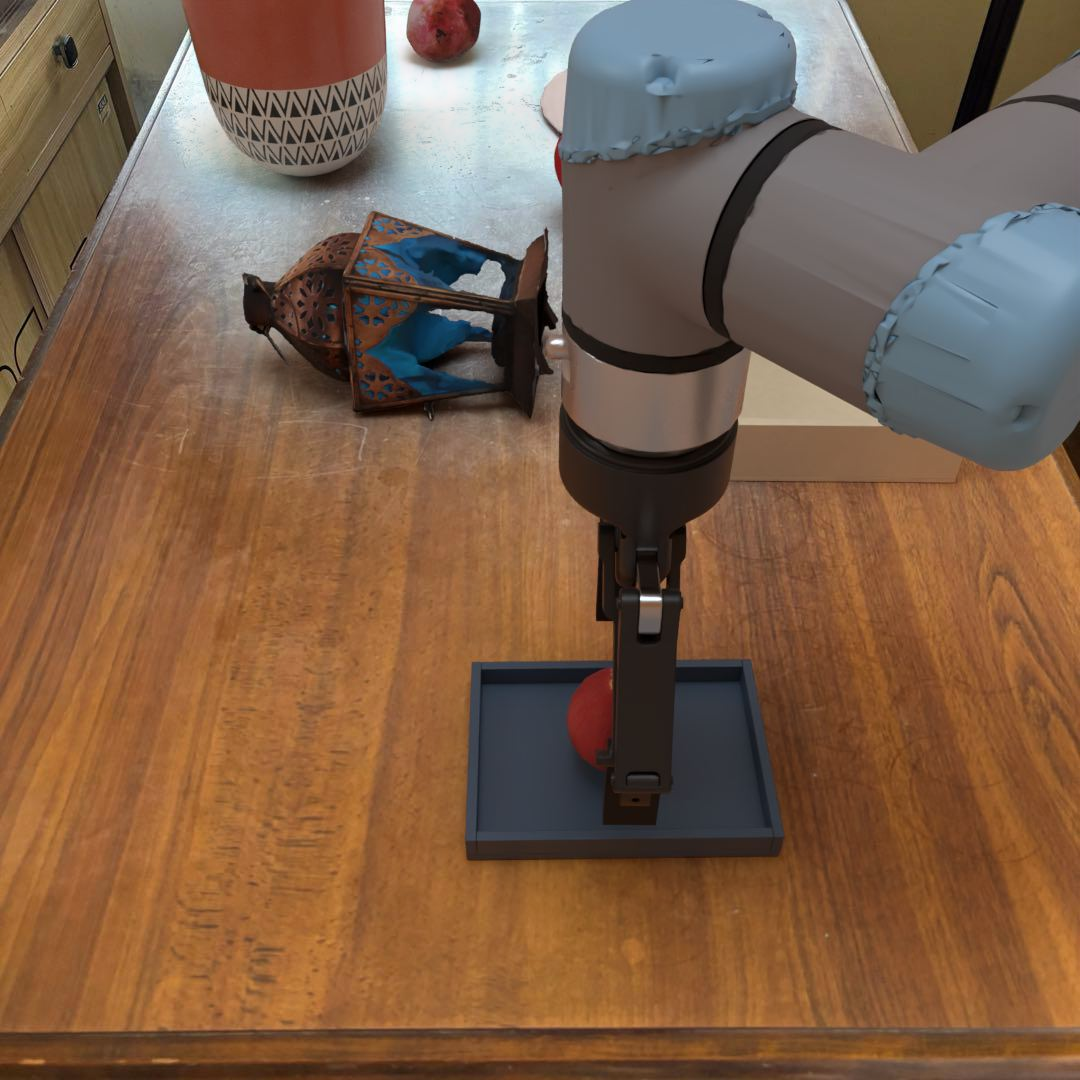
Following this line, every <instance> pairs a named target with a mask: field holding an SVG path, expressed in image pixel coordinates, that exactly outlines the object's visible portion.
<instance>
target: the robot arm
mask: <svg viewBox="0 0 1080 1080" xmlns="http://www.w3.org/2000/svg"><path fill="white" fill-rule="evenodd" d="M797 55H798V53H797V44H796V41H795V38H794V36H793V34H792V32H791V30H790V29H789V28H788V27H787V26H786V25H785V24H784V23H782V22H781V21H779V20H775V19H774V18H773V16H772V15H771V14H769V13H768V11H767V10H765V9H763V8H761V7H759V6H756V5H754V4H751V3H748V2H746V1H742V0H627V1H624V2H622V3H619V4H616V5H614V6H611V7H609V8H605V9H603V10H601V11H600V12H598V13H596V14H595V15H594V16H592V17H591V18H590V19H589V20H588V21H586V22H585V24H584V25H583V26H582V27H580V29H579V31H578V32H577V33H576V35H575V37H574V39H573V41H572V43H571V47H570V49H569V54H568V59H567V60H568V62H567V69H568V70H567V82H566V93H565V105H564V116H563V128H562V133H561V135H562V139H561V140H560V142H559V144H558V151H559V157H560V159H561V173H562V188H561V200H562V201H561V208H562V210H561V211H562V212H561V213H562V216H561V218H562V220H561V221H562V222H561V224H562V227H561V228H562V236H561V237H562V238H561V239H562V241H561V242H562V243H561V245H562V246H561V247H562V248H561V249H562V251H561V254H562V255H561V258H562V260H561V264H562V265H561V267H562V269H561V273H562V274H561V277H562V279H561V280H562V281H561V284H562V287H561V309H560V310H561V311H560V313H561V315H560V316H561V334H551V335H549V336H548V337H547V338H546V340H545V345H544V347H545V348H544V353H545V355H546V357H548V358H549V359H550V360H554V361H557V360H559V361H560V360H561V369H560V371H561V373H560V380H561V381H560V397H561V403H560V408H559V415H558V419H559V420H558V472H559V476H560V479H561V482H562V485H563V487H564V489H565V490H566V492H567V493H568V495H569V496H570V497H571V498H572V499H573V500H574V501H575V503H576V504H577V505H579V506H580V507H581V508H583V509H584V510H585V511H587V512H588V513H590V514H591V515H593V516H595V517H597V518H598V519H599V520H598V521H599V522H598V521H597V543H596V546H597V555H598V559H597V576H596V577H597V578H596V598H595V599H596V600H595V603H596V604H595V622H612V660H613V672H612V738H607V750H595V760H596V767H605V780H604V794H603V808H602V820H603V825H656V822H657V814H658V807H659V800H660V793H667V794H669V793H670V791H671V786H673V774H671V766H672V745H673V723H674V701H675V679H676V660H677V656H678V639H679V630H680V622H681V621H680V620H681V612H682V610H683V609H684V604H685V603H684V597H683V596H682V591H681V566H682V565H681V564H682V563H683V562H684V560H685V559H686V556H687V537H688V535H687V524H688V523H689V522H692V521H694V520H695V519H697V518H699V517H701V516H703V515H704V514H706V513H707V512H709V511H710V510H711V509H712V508H714V507H715V506H716V505H717V504H718V502H719V501H720V500H721V499H722V498H723V496H724V495H725V493H726V491H727V489H728V486H729V484H730V481H729V480H730V474H731V468H732V462H733V456H734V449H735V443H736V437H737V431H738V417H739V415H740V414H741V412H742V407H743V401H744V395H745V388H746V382H747V376H748V370H749V364H750V358H751V352H754V353H756V354H758V355H760V356H762V357H764V358H765V359H767V360H769V361H771V362H773V363H775V364H777V365H778V366H780V367H782V368H784V369H786V370H788V371H790V372H791V373H793V374H795V375H797V376H799V377H801V378H803V379H804V380H806V381H808V382H810V383H812V384H814V385H816V386H817V387H819V388H821V389H823V390H825V391H827V392H829V393H830V394H832V395H834V396H836V397H838V398H840V399H842V400H843V401H845V402H847V403H849V404H851V405H853V406H854V407H856V408H858V409H860V410H862V411H864V412H866V413H867V414H869V415H871V416H873V417H874V418H877V419H878V422H879V423H880V424H882V425H883V426H886V427H889V428H890V429H891V430H892V431H893V432H895V433H897V434H899V435H902V434H906V435H908V436H910V437H912V438H914V439H915V438H921V439H923V440H925V441H927V442H930V443H932V444H934V445H936V446H939V447H941V448H943V449H945V450H948V451H950V452H952V453H955V454H957V455H959V456H961V457H963V459H966V460H968V461H971V462H973V463H975V464H977V465H979V466H982V467H983V468H986V469H988V470H991V471H996V472H1015V471H1021V470H1025V469H1027V468H1029V467H1033V466H1034V465H1036V464H1038V463H1040V462H1042V461H1044V459H1046V458H1047V457H1048V456H1050V455H1052V453H1054V452H1055V451H1056V450H1057V449H1058V448H1059V447H1060V446H1061V445H1062V444H1063V443H1064V442H1065V440H1066V439H1068V438H1069V437H1070V436H1071V434H1072V433H1073V432H1074V430H1075V428H1076V427H1077V425H1078V424H1079V422H1080V49H1077V50H1076V51H1075V52H1074V53H1073V54H1071V55H1070V56H1069V57H1068V58H1067V59H1065V60H1064V61H1063V62H1061V63H1059V64H1057V65H1056V66H1055V67H1054V68H1052V69H1051V71H1049V72H1048V73H1046V74H1044V75H1043V76H1042V77H1040V78H1038V79H1036V80H1035V81H1034V82H1032V83H1030V84H1029V85H1027V86H1025V87H1023V88H1022V89H1021V90H1019V91H1017V92H1016V93H1014V94H1012V95H1011V96H1009V97H1008V98H1006V99H1005V100H1003V101H1002V102H1000V103H999V104H996V106H994V107H992V108H990V109H989V110H987V111H986V112H984V113H982V114H981V115H979V116H978V117H976V118H974V119H973V120H971V121H970V122H968V123H966V124H965V125H963V126H961V127H959V128H958V129H956V130H954V131H952V132H951V133H949V134H947V135H946V136H945V137H943V138H941V139H939V140H938V141H936V142H934V143H933V144H931V145H930V146H928V147H926V148H925V149H923V150H922V151H920V152H918V153H916V152H915V153H914V152H908V151H904V150H902V149H899V148H896V147H893V146H892V145H889V144H886V143H884V142H883V143H882V142H880V141H877V140H875V139H872V138H869V137H866V136H863V135H860V134H858V133H855V132H852V131H850V130H847V129H843V128H840V127H838V126H835V125H832V124H829V123H828V122H827V121H825V120H824V119H822V118H819V117H816V116H814V115H810V114H808V113H805V112H803V111H801V110H799V109H797V108H796V107H795V106H794V107H795V108H794V107H793V104H794V105H795V102H796V100H797V98H796V96H797V89H798V85H799V83H798V81H797V80H796V75H797V74H796V72H797V57H798V56H797ZM664 580H665V587H664V588H663V587H661V584H662V583H663V582H664Z"/></svg>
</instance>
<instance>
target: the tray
mask: <svg viewBox="0 0 1080 1080" xmlns="http://www.w3.org/2000/svg"><path fill="white" fill-rule="evenodd" d="M611 667H613V659H611V660H605V659H604V660H603V659H602V660H523V661H522V660H521V661H519V660H518V661H517V660H516V661H515V660H513V661H510V660H509V661H471V666H470V668H471V669H470V695H469V721H468V722H469V724H468V748H467V749H468V750H467V751H468V752H467V778H466V779H467V780H466V804H465V805H466V806H465V807H466V808H465V833H464V843H465V853H466V860H467V861H481V860H483V861H484V860H485V861H486V860H556V859H557V860H559V859H560V860H561V859H564V860H565V859H567V860H569V859H638V858H639V859H640V858H643V859H645V858H646V859H647V858H715V857H719V858H720V857H724V858H726V857H778V856H780V853H781V849H782V846H783V844H784V840H785V837H786V836H785V830H784V825H783V820H782V814H781V810H780V803H779V799H778V794H777V793H778V792H777V788H776V783H775V777H774V772H773V767H772V762H771V757H770V751H769V746H768V741H767V737H766V730H765V725H764V719H763V716H762V715H763V714H762V711H761V710H762V709H761V704H760V701H759V694H758V689H757V684H756V677H755V673H754V672H755V671H754V669H753V662H752V659H751V658H742V659H741V658H715V659H714V658H712V659H710V658H709V659H705V658H703V659H676V679H675V701H674V723H673V745H672V766H671V774H673V786H671V791H670V793H669V794H667V793H660V800H659V807H658V814H657V822H656V825H603V820H602V808H603V794H604V780H605V772H604V771H601V770H599V769H597V768H596V767H594V766H593V765H591V764H590V763H588V762H587V761H585V760H584V759H582V758H581V756H580V755H579V753H578V752H577V751H576V749H575V748H574V746H573V745H572V743H571V740H570V736H569V731H568V727H567V720H566V718H567V713H568V709H569V704H570V701H571V697H572V695H573V694H574V692H575V691H576V690H577V688H578V687H579V686H580V685H581V683H582V682H583V681H584V679H585V678H587V677H588V676H590V675H592V674H594V673H596V672H598V671H600V670H602V669H606V668H611Z"/></svg>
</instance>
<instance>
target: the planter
mask: <svg viewBox="0 0 1080 1080" xmlns="http://www.w3.org/2000/svg"><path fill="white" fill-rule="evenodd" d="M180 2H181V6H182V9H183V13H184V17H185V20H186V24H187V28H188V32H189V36H190V39H191V43H192V47H193V51H194V54H195V57H196V60H197V64H198V68H199V72H200V75H201V79H202V82H203V87H204V89H205V93H206V95H207V98H208V101H209V104H210V106H211V108H212V111H213V113H214V115H215V117H216V119H217V121H218V123H219V125H220V126H221V127H220V128H222V130H223V131H224V133H225V135H226V136H227V138H228V139H229V141H231V143H232V144H233V145H234V146H235V147H236V148H237V149H238V150H239V151H240V152H241V153H243V154H244V155H245V156H246V157H248V158H249V159H250V160H252V161H254V162H255V163H256V164H259V165H260V166H261V167H263V168H266V169H268V170H270V171H272V172H276V173H278V174H282V175H285V176H290V177H291V176H293V177H315V176H316V177H317V176H321V175H326V174H328V173H332V172H336V171H337V170H339V169H341V168H344V167H345V166H347V165H348V164H350V163H351V162H352V161H353V160H355V159H356V158H358V156H359V155H360V154H361V153H362V152H364V150H365V149H366V148H367V147H368V145H369V144H370V143H371V141H372V140H373V138H374V137H375V135H376V133H377V132H378V130H379V127H380V125H381V122H382V119H383V115H384V112H385V107H386V100H387V92H388V52H387V51H388V49H387V23H386V21H387V20H386V4H385V0H180Z"/></svg>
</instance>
